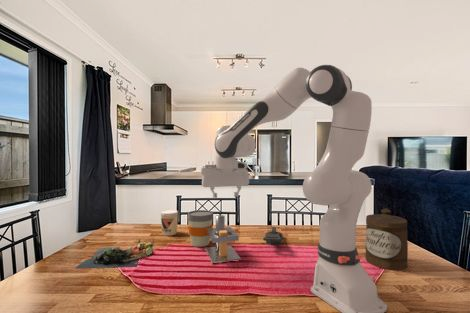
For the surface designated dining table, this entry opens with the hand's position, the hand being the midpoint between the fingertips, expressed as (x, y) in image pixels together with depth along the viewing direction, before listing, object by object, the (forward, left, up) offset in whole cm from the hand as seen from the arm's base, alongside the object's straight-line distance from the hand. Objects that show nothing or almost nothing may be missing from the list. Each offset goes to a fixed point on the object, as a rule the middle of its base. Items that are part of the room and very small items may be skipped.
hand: (225, 197), depth 110 cm
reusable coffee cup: (+19, +8, -26) cm, 33 cm away
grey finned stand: (+2, +1, -26) cm, 26 cm away
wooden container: (-23, -62, -26) cm, 71 cm away
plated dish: (+13, +42, -27) cm, 51 cm away
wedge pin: (0, +1, -25) cm, 25 cm away
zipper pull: (+9, -26, -26) cm, 38 cm away
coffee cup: (+39, +22, -26) cm, 52 cm away
